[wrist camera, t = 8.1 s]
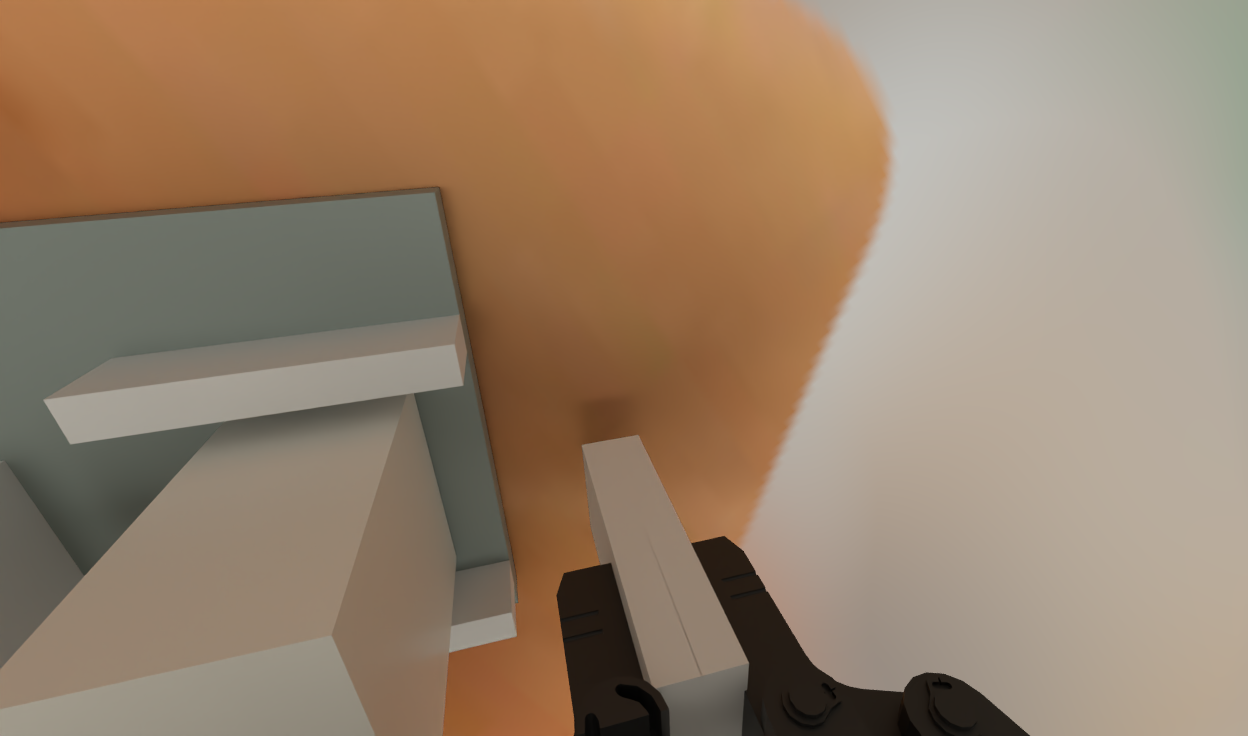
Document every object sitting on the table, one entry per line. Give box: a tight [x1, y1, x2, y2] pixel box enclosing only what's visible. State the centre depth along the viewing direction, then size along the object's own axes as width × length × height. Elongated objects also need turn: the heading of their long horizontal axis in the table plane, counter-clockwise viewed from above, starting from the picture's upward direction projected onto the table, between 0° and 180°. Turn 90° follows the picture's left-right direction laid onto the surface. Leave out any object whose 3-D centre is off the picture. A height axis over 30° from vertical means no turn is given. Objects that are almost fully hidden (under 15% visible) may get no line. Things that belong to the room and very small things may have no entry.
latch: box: [0, 393, 457, 736], centre depth 10 cm, size 9×6×8 cm, turn 94°
